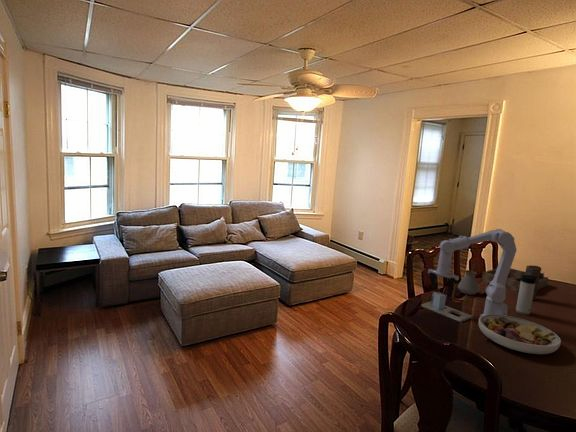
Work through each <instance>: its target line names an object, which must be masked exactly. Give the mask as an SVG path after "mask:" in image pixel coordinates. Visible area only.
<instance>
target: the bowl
mask: <svg viewBox="0 0 576 432" xmlns="http://www.w3.org/2000/svg"><path fill="white" fill-rule="evenodd" d="M477 324H478V327H479V330H480V331H481V333H482V334H483V335H484V336H485V337H487V339H489V340H490V341H493V342H494V343H496V344H498V345H500V346H503V347H505V348H507V349H510V350H514V351H517V352H521V353H525V354H534V355H548V354H552V353H555V352H556V351H557V350H558V349H559V348H560V346H561V342H562V339H561V338H560V336H558V334H556V333H555V332H554V331H552V330H551V329H549V328H547V327H546V326H545V327H544V326H543V325H541V324H538V323H536V322H533V321H530V320H528V319H523V318H520V317H515V316H511V315H507V316H506V315H497V314H489V315H483V316H480V317H478V323H477Z"/></svg>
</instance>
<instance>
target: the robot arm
mask: <svg viewBox="0 0 576 432" xmlns="http://www.w3.org/2000/svg"><path fill="white" fill-rule="evenodd" d="M485 241H491V242H493V243H497V244H498V245H499V246H500V248H501V249H502V252H501V255H500V258H499V262H498V265H497V268H496V269H497V270H496V273H495V276H494V279H493V280H492V281H491V282H490V283H488V285H487V286H486V287H485V294H486V298H485V303H484V309H483V313H482V314H479V316H480V317H481V316H483V315H489V314H497V315H506V316H508V310H509V306H508V304H506V303H504V301H505V300H506V299H507V298H506V296H507V295H506V293H507V292H506V291H507V288H506V287H505V283H506V280H507V278H508V277H509V276H508V274H509V271H510V268H512V265H513V262H514V260H515V259H514V258H515V256H516V253H517V251H518V250H517V246H516V242H515V237H514V235H512V234H511V233H510V232H508V231H505V230H504V229H502V228H497V229H492V230H487V231H485V232H482V233H479V234H476V235H472V236H468V237H467V236H466V235H464V236H463V235H459V236H458V237H456V238H449V239H448V240H446V239H444V240H441V241H440V244H439V249H440V252H439V258H438V263H437V269H432V268H429V269H427V270H428V271H427V274H428V277H429V280H430V283H431V284H430V285H431V289H435V288H436V281H437V276H439V277H444V278H447V279H448V283H447V284H448V286H447V287H448V288H447V291H446V292H447V293H448V294H450V293H451V291H452V289H453V286H454V285H455V283H456V282H457V281H459V279H460V276H459V275H457V274H454V273H451V268H452V267H451V266H452V258H453V253H454V252H455V251H458V250H462V249H467V248H469V247H470V246H471V245H472V244H477V243H481V242H485Z"/></svg>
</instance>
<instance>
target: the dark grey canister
mask: <svg viewBox="0 0 576 432" xmlns="http://www.w3.org/2000/svg"><path fill="white" fill-rule="evenodd" d="M524 272H525V275H530V276H536V277H537V278H536V282H535V288H534V294H533V299H532V301H534V300H536V297H537V293H538V290H537V288H538V283H539V278H540V273H542V267H541V266H538V265H533V264H532V265H531V264H530V265H526V267H525V271H524Z"/></svg>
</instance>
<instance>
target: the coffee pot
mask: <svg viewBox="0 0 576 432" xmlns="http://www.w3.org/2000/svg"><path fill="white" fill-rule="evenodd" d="M476 267H477V264H476V263H474V264H472V267H471V270H468V269H467V270H464V273H465V274H464V275H463V277H462V279H461V280H460V282H459V283H458V285H457V289H458V290H459V291H460V292H461V294H464V295H469V296H475V295H476V294H478V293H479V292H480V288H479V285H478V282H477V279H476V276H477V275H478V273H477V272H476V271H475V269H476Z"/></svg>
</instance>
